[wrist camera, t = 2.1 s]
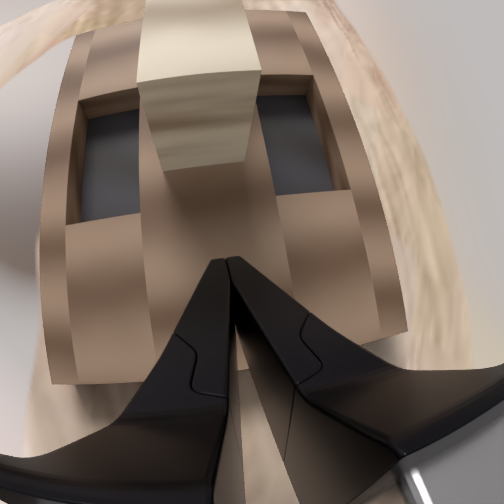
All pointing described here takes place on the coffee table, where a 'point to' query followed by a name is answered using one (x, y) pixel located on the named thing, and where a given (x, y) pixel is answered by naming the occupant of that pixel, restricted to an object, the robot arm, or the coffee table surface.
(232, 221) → the board
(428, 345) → the coffee table surface
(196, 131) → the birch block
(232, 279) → the robot arm
